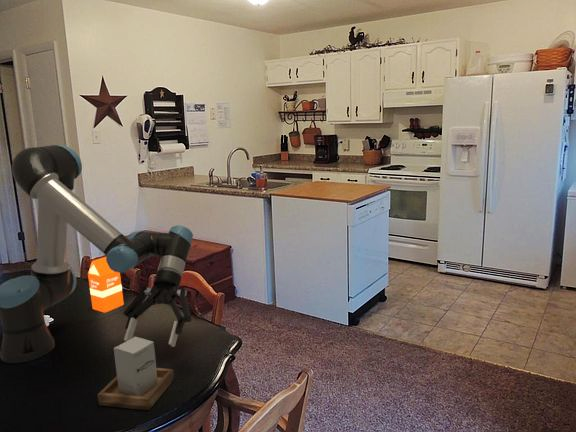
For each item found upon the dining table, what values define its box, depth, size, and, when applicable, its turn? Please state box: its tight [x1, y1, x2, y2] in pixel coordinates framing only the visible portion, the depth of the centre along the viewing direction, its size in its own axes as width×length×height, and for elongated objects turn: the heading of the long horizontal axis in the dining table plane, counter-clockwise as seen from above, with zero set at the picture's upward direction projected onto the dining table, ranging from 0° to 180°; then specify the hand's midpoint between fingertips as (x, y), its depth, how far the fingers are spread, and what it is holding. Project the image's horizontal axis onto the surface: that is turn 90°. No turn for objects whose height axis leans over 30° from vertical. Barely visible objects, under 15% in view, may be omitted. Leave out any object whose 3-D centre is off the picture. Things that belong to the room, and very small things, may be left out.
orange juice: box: [87, 256, 125, 314], centre depth 177 cm, size 8×9×20 cm
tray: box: [97, 367, 175, 411], centre depth 121 cm, size 14×14×3 cm
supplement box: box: [113, 336, 158, 396], centre depth 120 cm, size 7×7×13 cm
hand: (149, 343), depth 127 cm, fingers open, 13 cm apart
